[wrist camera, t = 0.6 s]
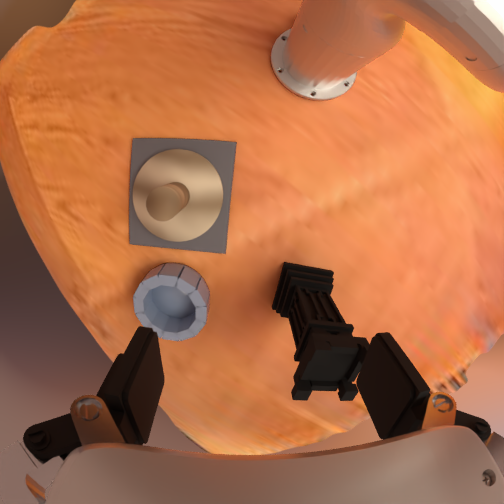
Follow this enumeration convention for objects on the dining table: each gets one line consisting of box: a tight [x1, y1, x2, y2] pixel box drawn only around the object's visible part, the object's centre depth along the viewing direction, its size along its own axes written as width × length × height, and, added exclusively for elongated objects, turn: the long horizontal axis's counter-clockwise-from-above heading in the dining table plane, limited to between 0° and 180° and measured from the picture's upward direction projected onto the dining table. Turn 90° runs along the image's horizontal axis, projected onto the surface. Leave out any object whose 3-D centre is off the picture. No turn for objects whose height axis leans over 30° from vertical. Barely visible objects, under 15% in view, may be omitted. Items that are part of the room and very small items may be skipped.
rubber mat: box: [129, 138, 237, 254], centre depth 37 cm, size 16×15×1 cm
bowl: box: [133, 263, 210, 341], centre depth 41 cm, size 11×11×5 cm
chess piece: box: [272, 262, 370, 401], centre depth 34 cm, size 8×8×20 cm
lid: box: [133, 149, 223, 242], centre depth 34 cm, size 13×13×8 cm
